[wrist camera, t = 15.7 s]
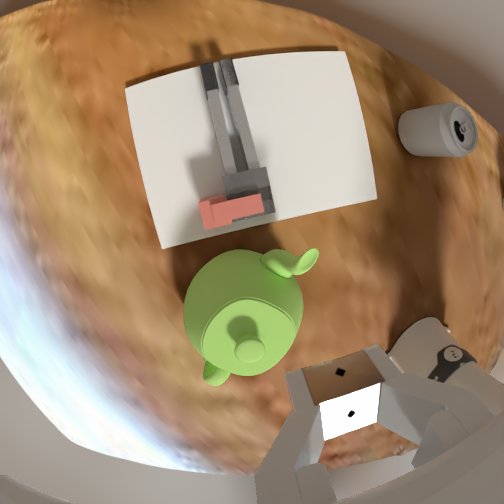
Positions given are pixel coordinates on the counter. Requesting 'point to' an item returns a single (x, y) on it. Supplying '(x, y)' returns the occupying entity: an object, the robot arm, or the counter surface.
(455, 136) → the can
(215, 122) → the tongs fixed
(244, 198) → the lock tab
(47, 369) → the counter surface
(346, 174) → the board
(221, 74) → the tongs arm
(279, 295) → the teapot
